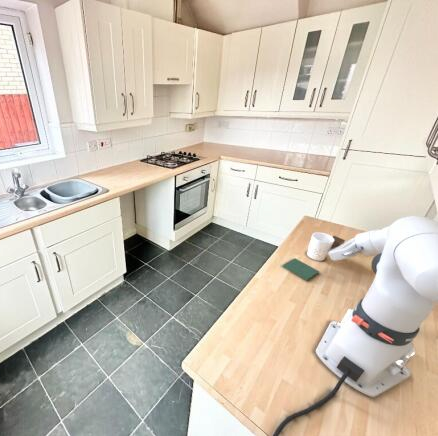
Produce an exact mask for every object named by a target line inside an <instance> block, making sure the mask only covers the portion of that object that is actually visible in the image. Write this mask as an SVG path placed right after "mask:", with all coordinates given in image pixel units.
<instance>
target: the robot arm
mask: <svg viewBox="0 0 438 436" xmlns="http://www.w3.org/2000/svg"><path fill="white" fill-rule="evenodd" d="M358 254H359V255H363V256H365V257H373V258H372V260H371V264H370V265H371V266H370V267H371V270H372V272H373V274H374V275H375V276H374V278H373V281H372V283H371V285H370V287H369V289H368V290H367V292H366V294H365V295H364V297H363V298H361V299H360V300H359V302H358V303H357V304H356V305H355V308H348V309H347V311H346V313H345V315H344V317H343V318H342V320H341V322H339V321H335V320H332V321H331V322H330V323H329V324H328V326H327V328H326V330H325V332H324V334H323V335H322V337H321V340H320V341H319V343H318V345H317V347H316V349H315V354H316V356H317V357H318V358H319V360H320V361H321V362H322V363H323V364H324V365H325V366H326V367H327V368H328V369H329V370H330V371H331V372H332V373H333V374H334V375H336V376H337V377H338V378H339V380H338V381H337V382H336V384H335V386H334V387H333V389H332V390H331V391H330V392H329V393H328V394H327V395H326V396H325V397H323V398H322V399H320V400H319V401H317V402H315V403H314V404H312V405H310V406H309V407H306V408H304V409H301V410H300V411H296V412H294V413H292V414H291V415H288V416H287V417H286V418H285V419H283V420H282V421H281V422H280V423H279V425H278V426H277V427H276V429H275V430H274V433H273V435H272V436H280V433H281V432H282V430H284V428H285V427H286V426H287V425H288V424H289V423H290V422H292V421H293V420H295V419H297V418H300V417H302V416H305V415H307V414H309V413H312V412H313V411H315V410H316V409H318V408H320V407H321V406H323V405H325V404H326V403H327V402H329V401H330V400H331V399H332V398H333V397H334V396H335V395H336V394H337V393H338V392H339V390H340V388H341V387H342V385H343V384H344V382H345V383H346V384H347V385H348V386H350V387H351V388H353V389H354V390H356V391H358V392H360V393H362V394H363V395H366V396H368V397H370V398H376V397H377V396H380V395H381V394H383V393H384V392H386V391H388V390H390V389H392V388H393V387H395V386H396V385H399V384H400V383H402V382H403V381H405V380H407V379H409V378H410V376H411V375H412V374H411V371H410V369H409V368H408V367H407V366H406V365H405V364H408V363H409V362H410V361H411V359H410V358H411V357H412V356H413V355H415V351H416V348H415V346H414V344H413V340H415V338H417V336H418V334H419V332H420V327H421V325H422V324H423V323H424V321H426V319H427V318H428V316H430V314H431V313H432V312H433V310H434V308H435V307H436V304H438V221H436V220H434V219H432V218H429V217H427V216H422V215H408V216H403V217H401V218H398V219H396V220H395V221H394V222H392V223H391V224H390V225H389V226H385V227H383V228H381V229H372V230H367V231H363V232H359V233H356V235H355V236H354V237H352V238H350V239H348V240H347V241H345V242H344V243H343V244H342V245H340V246H338V247H336V248H332V249H330V250H329V251H328V254H327V255H328V256H329V257H330V260H331V261H333V262H336V261H337V262H338V261H342V260H347V259H350V258H354V257H356V256H357V255H358Z"/></svg>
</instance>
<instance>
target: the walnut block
mask: <svg viewBox="0 0 438 436" xmlns="http://www.w3.org/2000/svg"><path fill="white" fill-rule="evenodd" d="M332 237H333V238H334V242H333V244H332V246H331V248H330V249H332V248H336V247H338V246H340V245H342V244H343V243H345V242H346V239H343V238H341V237H339V236H336V235H332Z"/></svg>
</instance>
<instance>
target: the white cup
mask: <svg viewBox="0 0 438 436" xmlns="http://www.w3.org/2000/svg"><path fill="white" fill-rule="evenodd" d="M333 242H334V238H333V235H330V234H328V233H324V232H319V231H316V232H313V233H312V234H311V238H310V241H309V244H308V247H307V251H306V252H307V253H306V255H307V257H309V259H312V260H314V261H319V262H321V261H325V259H326V257H327V255H329V254H328V253H329V252H328V251H329V250H330V248H331V246H332V244H333Z"/></svg>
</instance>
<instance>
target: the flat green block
mask: <svg viewBox="0 0 438 436" xmlns="http://www.w3.org/2000/svg"><path fill="white" fill-rule="evenodd" d="M282 267H283V268H284V269H286V270H287V271H289V272H291V273H292V274H294V275H296V276H298V277H300V278H301V279H303V280H304V281H306V282H308V281H310V280H311V279H313V278H314V277H315V276H317V275H318V274H319V273H320V271H319V270H318V269H316V268H314V267H312V266H310V265H308V264H307V263H305V262H303V261H301V260H299V259H297V258H293V259H291V260H289V261H287V262H285V263H283V265H282Z"/></svg>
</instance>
